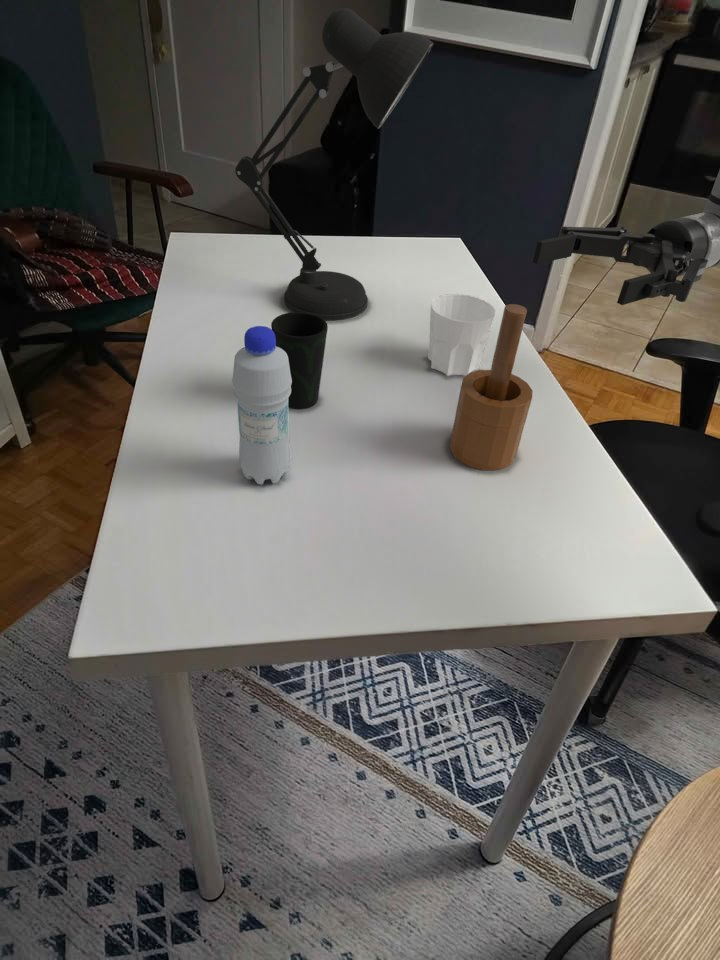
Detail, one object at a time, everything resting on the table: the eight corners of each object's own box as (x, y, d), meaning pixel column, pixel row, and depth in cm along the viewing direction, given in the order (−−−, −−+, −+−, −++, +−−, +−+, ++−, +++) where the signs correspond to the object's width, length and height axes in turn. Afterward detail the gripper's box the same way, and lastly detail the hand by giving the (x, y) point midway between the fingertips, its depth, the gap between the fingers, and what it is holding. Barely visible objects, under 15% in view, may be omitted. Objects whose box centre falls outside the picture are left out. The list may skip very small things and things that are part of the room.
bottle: (231, 485, 80) (219, 339, 67) (247, 453, 85) (239, 311, 72) (284, 494, 79) (282, 348, 66) (297, 461, 84) (298, 319, 72)
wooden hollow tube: (526, 448, 90) (543, 386, 84) (496, 479, 84) (513, 415, 78) (469, 423, 94) (482, 362, 87) (437, 451, 88) (449, 388, 81)
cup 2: (476, 349, 111) (487, 295, 105) (489, 380, 103) (501, 323, 97) (419, 348, 110) (426, 293, 104) (427, 378, 103) (436, 321, 96)
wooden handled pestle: (503, 444, 89) (538, 308, 76) (489, 457, 86) (524, 319, 73) (477, 433, 91) (508, 298, 78) (463, 446, 88) (492, 308, 75)
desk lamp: (423, 318, 119) (465, 20, 90) (296, 345, 108) (298, 15, 79) (356, 269, 135) (374, 2, 106) (240, 288, 124) (224, -4, 95)
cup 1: (265, 406, 93) (262, 331, 86) (283, 381, 99) (282, 307, 92) (315, 417, 92) (317, 341, 85) (331, 390, 98) (334, 317, 90)
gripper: (755, 308, 83) (652, 343, 73) (602, 243, 98) (500, 265, 88) (783, 249, 78) (678, 279, 68) (617, 191, 93) (512, 209, 84)
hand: (577, 271), depth 78 cm, fingers open, 13 cm apart
